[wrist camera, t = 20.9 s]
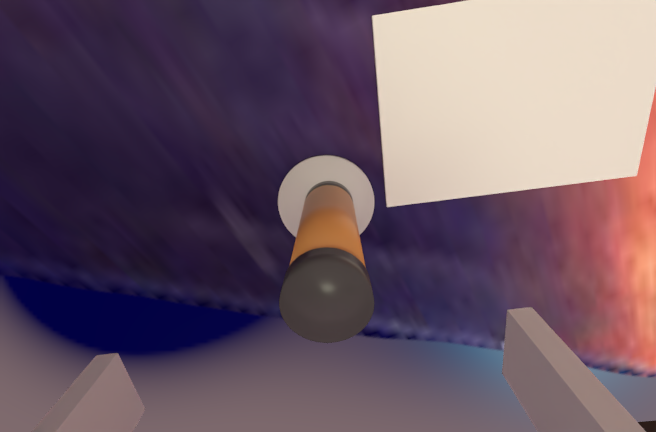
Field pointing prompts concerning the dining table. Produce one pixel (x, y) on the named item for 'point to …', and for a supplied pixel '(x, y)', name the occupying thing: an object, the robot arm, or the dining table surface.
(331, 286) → the thermos bottle
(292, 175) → the coaster
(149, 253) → the dining table surface
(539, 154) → the paper
